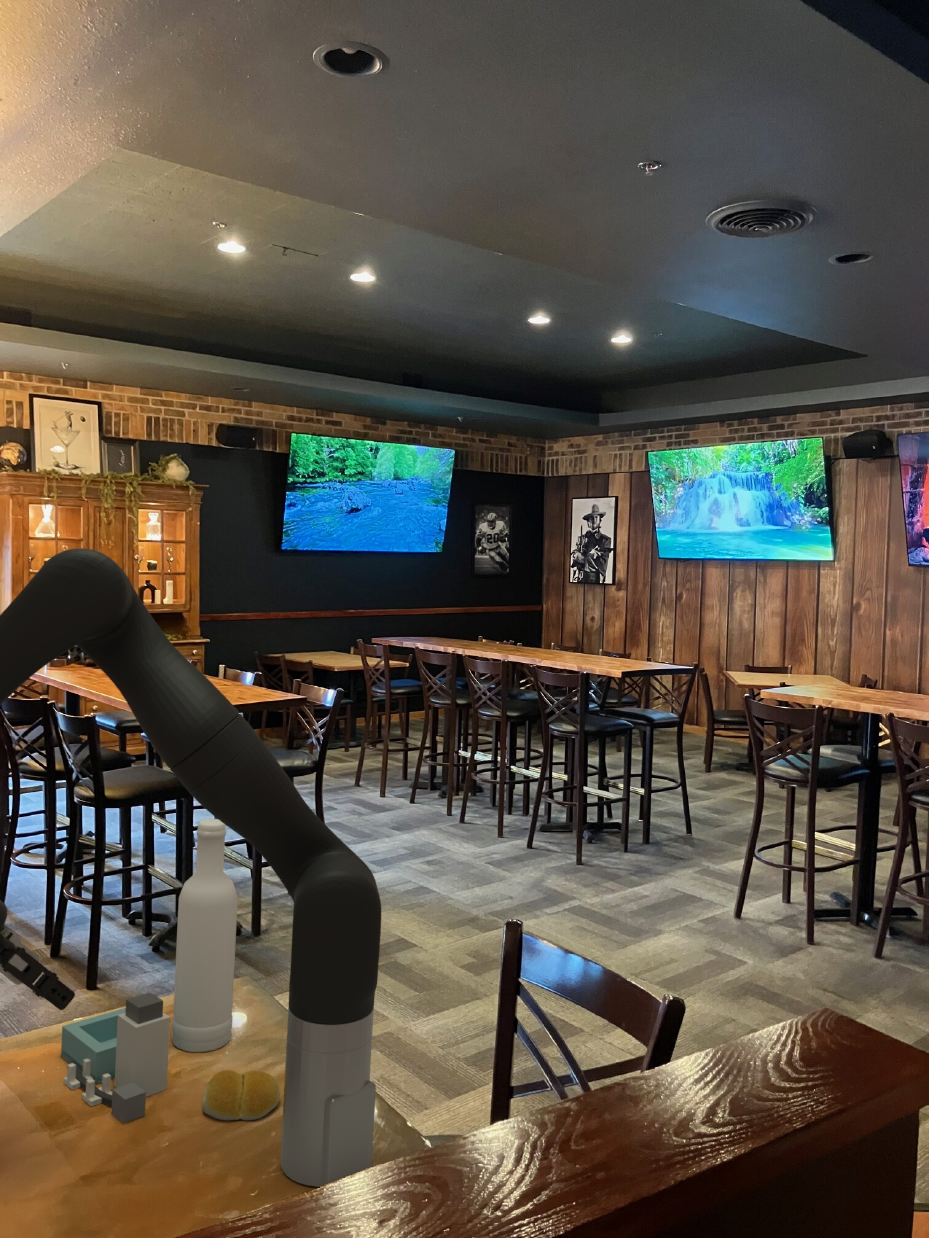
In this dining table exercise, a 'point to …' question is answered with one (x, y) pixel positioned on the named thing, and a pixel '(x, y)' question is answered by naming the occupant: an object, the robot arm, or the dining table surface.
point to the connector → (143, 1044)
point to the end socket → (92, 1044)
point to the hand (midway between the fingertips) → (51, 989)
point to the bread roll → (240, 1095)
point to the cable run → (107, 1093)
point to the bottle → (205, 948)
